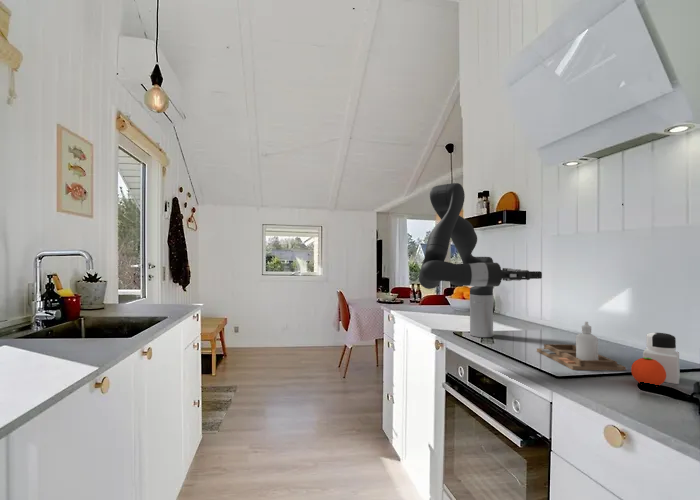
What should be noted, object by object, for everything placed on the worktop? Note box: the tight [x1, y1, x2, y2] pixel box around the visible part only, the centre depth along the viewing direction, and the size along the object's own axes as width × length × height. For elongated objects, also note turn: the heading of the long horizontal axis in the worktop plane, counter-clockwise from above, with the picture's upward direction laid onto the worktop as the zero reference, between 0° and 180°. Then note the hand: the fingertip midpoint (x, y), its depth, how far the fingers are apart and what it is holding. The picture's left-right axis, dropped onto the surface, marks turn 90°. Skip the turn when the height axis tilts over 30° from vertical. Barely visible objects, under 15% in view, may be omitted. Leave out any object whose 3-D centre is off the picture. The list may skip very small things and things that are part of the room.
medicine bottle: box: [642, 332, 681, 385], centre depth 100 cm, size 7×7×12 cm
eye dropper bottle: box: [575, 321, 599, 360], centre depth 112 cm, size 4×6×12 cm
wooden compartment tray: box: [536, 343, 627, 371], centre depth 118 cm, size 22×15×2 cm
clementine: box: [630, 357, 666, 386], centre depth 94 cm, size 8×7×7 cm
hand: (534, 274), depth 117 cm, fingers open, 8 cm apart
